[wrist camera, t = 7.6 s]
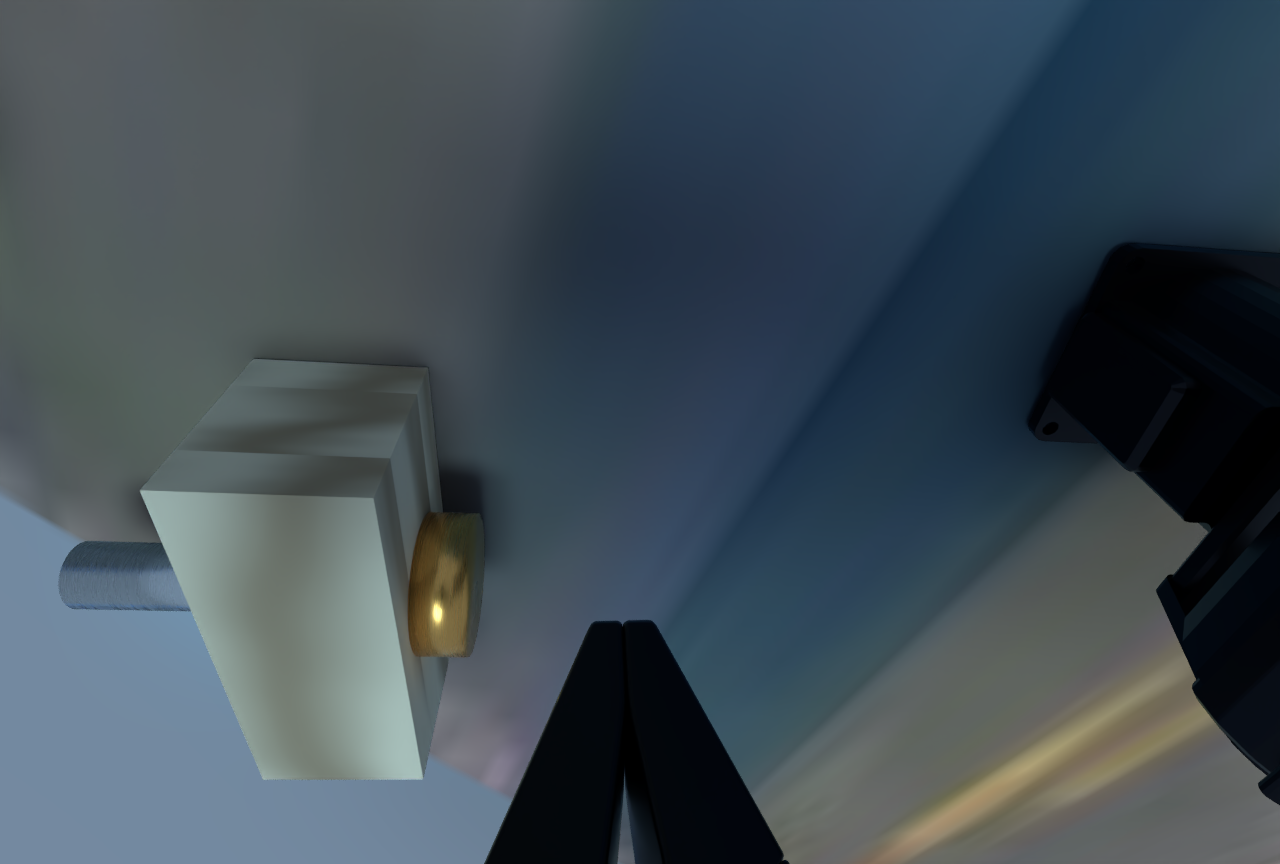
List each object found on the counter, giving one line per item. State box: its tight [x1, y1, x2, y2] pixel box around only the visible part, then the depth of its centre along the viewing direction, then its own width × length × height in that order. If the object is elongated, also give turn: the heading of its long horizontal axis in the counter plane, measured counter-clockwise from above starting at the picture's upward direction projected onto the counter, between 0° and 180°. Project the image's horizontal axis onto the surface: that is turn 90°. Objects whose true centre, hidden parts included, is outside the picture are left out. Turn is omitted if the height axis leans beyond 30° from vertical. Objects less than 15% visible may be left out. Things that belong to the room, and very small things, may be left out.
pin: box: [59, 512, 485, 657], centre depth 21 cm, size 12×4×4 cm, turn 85°
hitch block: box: [140, 359, 449, 780], centre depth 21 cm, size 5×12×6 cm, turn 175°
